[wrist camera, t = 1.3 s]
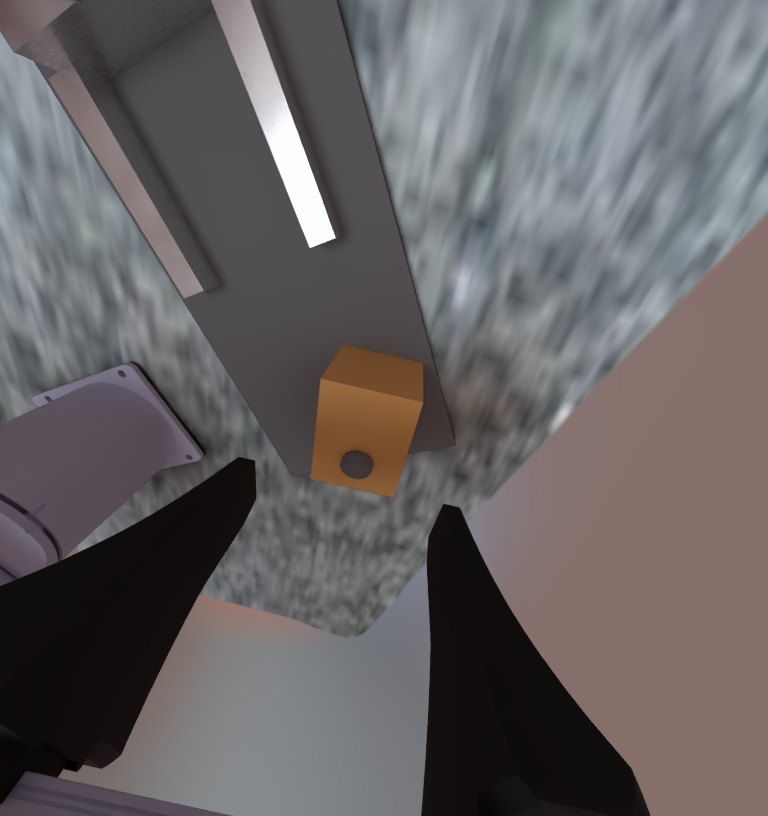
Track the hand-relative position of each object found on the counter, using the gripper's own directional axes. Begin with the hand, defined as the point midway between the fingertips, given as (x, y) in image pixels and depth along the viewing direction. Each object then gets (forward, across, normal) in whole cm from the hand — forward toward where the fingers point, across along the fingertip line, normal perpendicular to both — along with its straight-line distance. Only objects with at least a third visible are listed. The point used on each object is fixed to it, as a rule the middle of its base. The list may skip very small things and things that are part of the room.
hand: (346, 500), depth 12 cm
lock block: (+8, 0, 0) cm, 8 cm away
